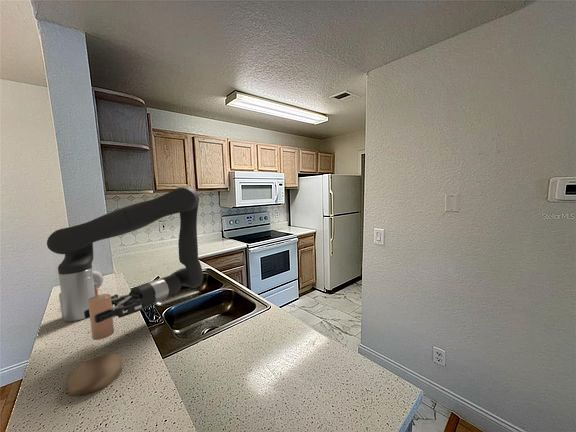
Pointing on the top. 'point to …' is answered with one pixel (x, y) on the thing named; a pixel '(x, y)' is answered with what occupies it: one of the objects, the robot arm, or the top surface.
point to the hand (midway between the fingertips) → (90, 317)
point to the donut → (98, 278)
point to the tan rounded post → (96, 307)
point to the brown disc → (94, 375)
